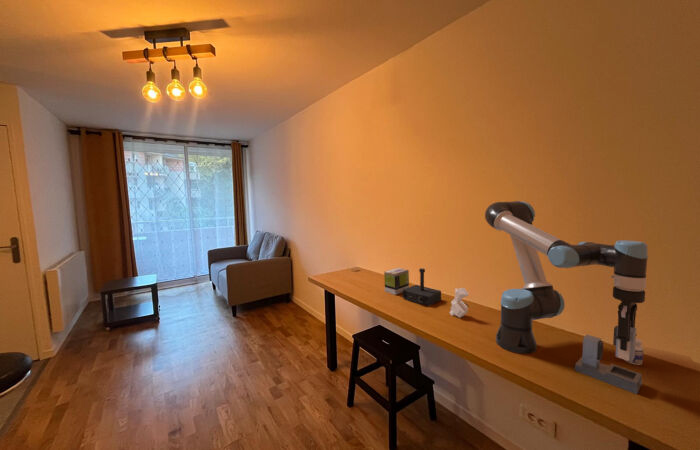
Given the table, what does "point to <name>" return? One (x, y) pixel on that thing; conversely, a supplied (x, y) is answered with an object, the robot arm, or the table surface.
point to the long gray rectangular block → (632, 342)
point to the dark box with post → (422, 293)
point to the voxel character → (459, 303)
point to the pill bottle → (637, 353)
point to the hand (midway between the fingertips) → (624, 356)
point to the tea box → (396, 280)
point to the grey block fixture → (605, 367)
